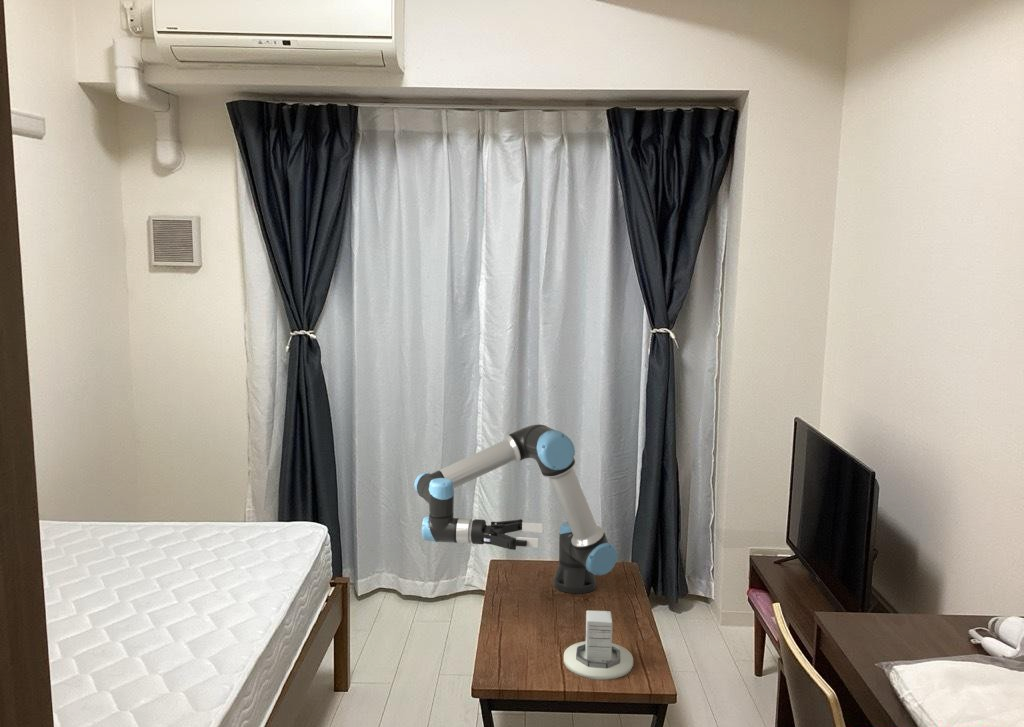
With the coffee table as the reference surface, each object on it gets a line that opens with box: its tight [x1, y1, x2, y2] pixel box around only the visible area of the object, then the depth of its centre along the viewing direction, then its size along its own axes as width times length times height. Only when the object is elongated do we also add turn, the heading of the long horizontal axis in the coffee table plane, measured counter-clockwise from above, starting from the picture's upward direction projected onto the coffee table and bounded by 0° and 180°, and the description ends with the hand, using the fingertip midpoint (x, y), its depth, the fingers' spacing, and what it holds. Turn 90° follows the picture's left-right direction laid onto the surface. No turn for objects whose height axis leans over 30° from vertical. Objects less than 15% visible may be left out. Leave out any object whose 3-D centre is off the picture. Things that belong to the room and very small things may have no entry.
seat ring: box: [576, 644, 620, 668], centre depth 231 cm, size 13×13×1 cm
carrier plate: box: [563, 640, 634, 681], centre depth 231 cm, size 20×20×2 cm
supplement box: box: [585, 610, 613, 663], centre depth 230 cm, size 7×7×13 cm
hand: (540, 535), depth 243 cm, fingers open, 13 cm apart
